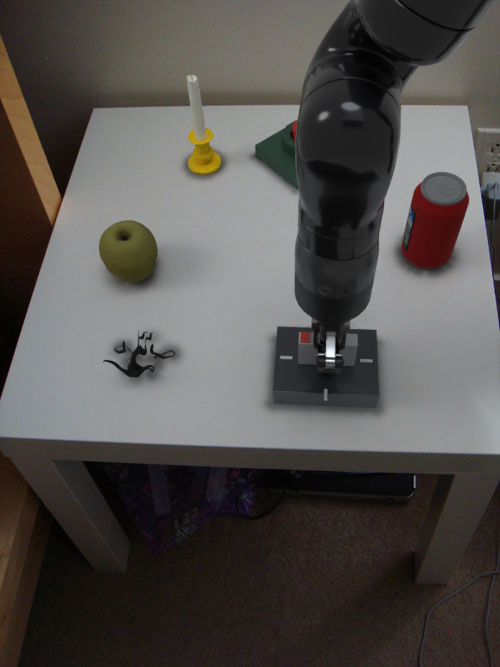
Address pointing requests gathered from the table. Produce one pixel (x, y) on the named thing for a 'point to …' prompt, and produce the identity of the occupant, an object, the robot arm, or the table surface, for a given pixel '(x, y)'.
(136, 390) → the table surface
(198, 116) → the candle
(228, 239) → the table surface
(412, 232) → the beverage can
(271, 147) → the button box
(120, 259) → the apple
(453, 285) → the table surface
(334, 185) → the robot arm
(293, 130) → the red button
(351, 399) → the plate
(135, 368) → the creature
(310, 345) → the tap handle
